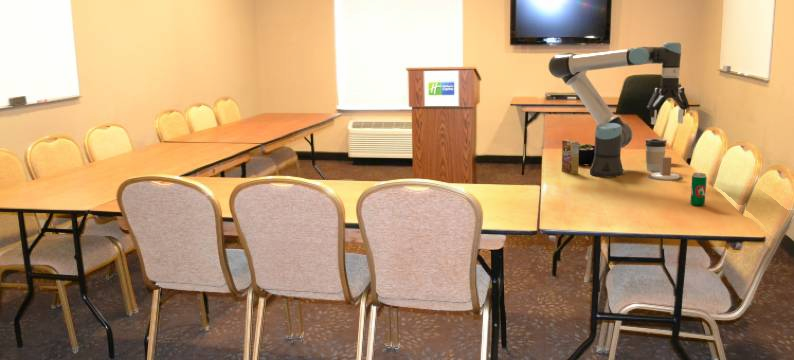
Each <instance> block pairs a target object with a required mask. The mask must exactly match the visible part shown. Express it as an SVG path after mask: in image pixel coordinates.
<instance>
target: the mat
mask: <svg viewBox="0 0 794 360" xmlns="http://www.w3.org/2000/svg"><path fill="white" fill-rule="evenodd" d="M646 177H647V178H648V179H649V180H656V181H663V182H664V181H666V182H667V181H669V182H673V181H682V180H684V178H683V177H682V176H680V177H679V179H677V180H660V179H654V178H652V177H651V174H649V175H647V176H646Z"/></svg>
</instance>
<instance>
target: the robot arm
mask: <svg viewBox="0 0 794 360" xmlns="http://www.w3.org/2000/svg"><path fill="white" fill-rule="evenodd" d="M681 55H682V44H681V43H680V42H664V43H663V46H638V47H633V48H625V49H617V50H610V51H604V52H603V51H602V52H595V53H588V54H576V53H574V52H567V53H566V52H565V53H558V54H555V55H554V56H552V57H551V59H549V63H548V71H549V73H550V74H551V75H552V76H553V77H555V78H558V79H562V81H563V82H564V83H565V85H566V86H570V87H571V88H572V89H573V91H574V92H575V94H576V95H577V96H578V98H579V99H580V101H581V102H582V103H583V106H585V108H586V109H587V111H588V112H589V113H590V115H591V117H592V118H593V119H594V121H595V122H596V124H597V125H596V126H595V131H594V146H595V153H594V160H593V163H592V164H591V167H590V168H589V174H590V175H591V176H594V177H600V178H601V177H602V178H617V177H619V176H624V173H625V171H624V167H623V164H622V159H621V151H622V150H621V149H622V148H625V147H626V146H627V145H630V143H631V141H632V139H633V130H632V128H631V127H630V125H628V124H627V123H625V122H624V121H623V120H622V118H621V117H620V116H619V115H615V114H614V113H613V111H612V110H611V109H610V107H609V106H608V104H607V103H606V102H605V100H604V98H602V96H601V95H600V93H599V92H598V90H597V89H596V87H595V86H594V85H593V83H592V82H591V81H590V79H589V78H588V76H587V72H588V71H589V72H590V71H596V70H597V71H598V70H604V69H605V70H606V69H613V68H622V67H623V68H624V67H631V66H632V67H633V66H642V65H647V64H648V65H649V64H650V65H652V64H653V65H654V64H656V65H657V64H660V65H662V66H661V75H660V76H661V78H660V87H659V88H658V87H655V88H654V90H653V93H652V96H651V98H650V99H649V101H648V103H647V105H646V109H648V110H650V115H649V117H650V120H651V121H650V124H651V125H653V126H654V125H657V113H658V111H657V108H658V106H659V105H660V104H661V103H662V102H663V100H665V99H671V98H672V99H673V100H674V101H675V103H676V104H677V105H678V107H679V108H678V115H677V124H683V121H684V117H685V114H686V113H685V112H686V110H687V109H688V108H689V109H690V104H689V101H688V99H687V96H686V92H685V87H679V84H680V78H679V77H680V68H681Z"/></svg>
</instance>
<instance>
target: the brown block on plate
mask: <svg viewBox="0 0 794 360" xmlns="http://www.w3.org/2000/svg"><path fill="white" fill-rule="evenodd" d="M671 171H672V157H670V156H665V157H661V168H660V172H652V173H651V174H650V175H651V177H652V178H654V179H660V180H659V181H662V180H677V179H679V177H681V176H680V174H678V173H674V172H671ZM654 179H653V180H654ZM677 181H678V180H677Z"/></svg>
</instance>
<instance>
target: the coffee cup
mask: <svg viewBox="0 0 794 360" xmlns="http://www.w3.org/2000/svg"><path fill="white" fill-rule="evenodd" d="M652 139H653V140H650V141H648V143H646V142H645V163H646V165H645V166H646V167H645V168H646V171H648V172H652V173H656V172H660V168H661V157H666V156H665V155H666V146H667V145H666V144H667V142H666V143H664V141H660V140H657V139H658V138H652Z"/></svg>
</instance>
